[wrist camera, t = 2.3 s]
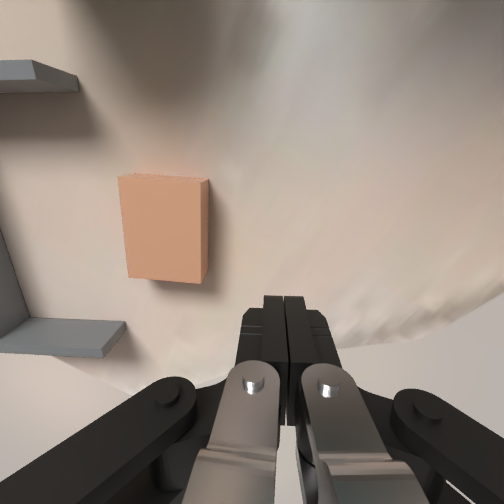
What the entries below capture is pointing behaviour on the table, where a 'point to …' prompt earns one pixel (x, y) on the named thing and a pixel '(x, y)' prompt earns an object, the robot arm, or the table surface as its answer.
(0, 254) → the box
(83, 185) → the table surface
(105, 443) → the robot arm
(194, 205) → the tile
